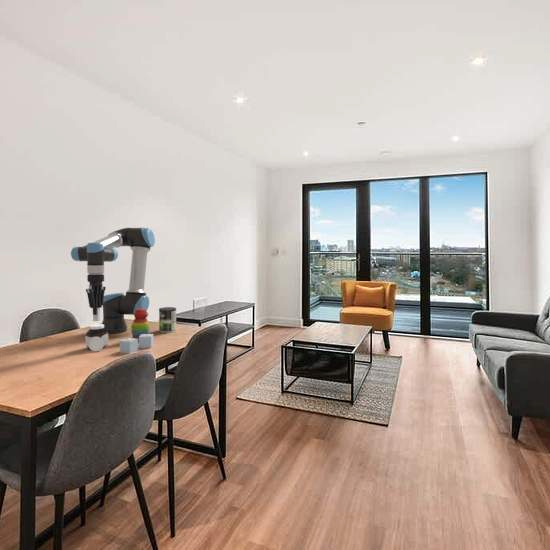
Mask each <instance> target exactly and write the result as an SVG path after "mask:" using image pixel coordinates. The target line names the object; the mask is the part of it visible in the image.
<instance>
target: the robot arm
mask: <svg viewBox="0 0 550 550" xmlns="http://www.w3.org/2000/svg"><path fill="white" fill-rule="evenodd" d="M155 242H156V237H155V234H154V231H153V230H152V229H151V228H149V227H125V228H120V229H117V230H115V231H112V232H110V233H109V234H108V235H106V236H105V237H103V238H100V239H98V240H95V241H93V242H88V243H87V244H86V245H84V246H74V247H72V249H71V251H70V256H71V258H72V260H74V261H75V262H87V263H86V265H87V267H86V268H87V270H86V271H87V276H86V277H87V278H86V280H87V282H88V283H89V284H88V285H89V286H88V288H86V289H85V293H86V295H87V301H88V306H89V308H90V309H92V321H93V322H100V321H101V308H102V322H101V324H104V329H105V330H107V332H108V335H109V334H111V335H112V334H121V333H124V332H127V331H128V325H127V322H126V319H125V315H129V316H131V315H132V316H134V312H135V310H137V309H140V308H142V309H145V310H146V312H148V309H149V307H150V298H149V296H148V295H147V292H146V291H145V284H146V283H145V282H146V281H145V280H146V273H147V272H146V270H147V262H148V261H147V259H148V252H150V251H151V248H152V247H154V245H155V244H156V243H155ZM120 247H130V249H131V251H132V256H131V266H130V272H129V273H130V275H129V276H130V277H129V286H128V289H127V291H126V292H125V294H124V292H114V293H109V294H108V293H107V294H105V291H106V286H104V285H103V282H105V262H109V263H110V262H115V261H117V259H118V256H119V253H118V250H117V249H116V248H120Z"/></svg>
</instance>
